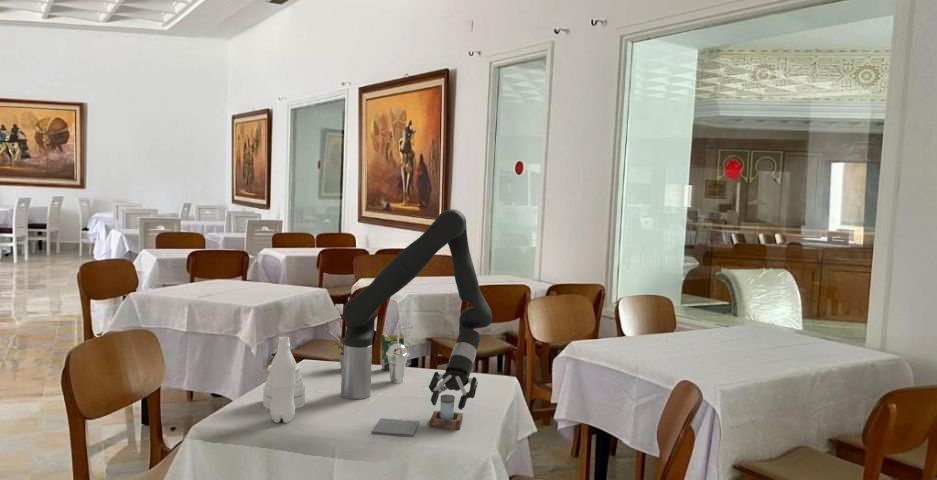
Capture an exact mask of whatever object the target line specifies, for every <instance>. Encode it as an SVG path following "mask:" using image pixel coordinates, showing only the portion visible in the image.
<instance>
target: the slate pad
mask: <svg viewBox="0 0 937 480" xmlns="http://www.w3.org/2000/svg"><path fill="white" fill-rule="evenodd" d="M420 424H421V421H419V420H408V419H396V418H395V419H394V418H384V417H383V418H382V417H380V418H379V420H378V421H377V423H376V425H375V426H374V427H373V429H372V430H371V434H373V435H387V436H388V435H389V436H401V437H402V436H403V437H414V435H415V433H416V431H417V429H418V427H419V426H420Z"/></svg>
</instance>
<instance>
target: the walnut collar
mask: <svg viewBox="0 0 937 480" xmlns="http://www.w3.org/2000/svg"><path fill="white" fill-rule="evenodd" d="M463 416H464V415H463V412H458V411H454V417H453V420H448V419H440V410H437V411H436V410H434V411H433V413H432V414H431V417H430V423H429V424H430V425H429V427H430V428H434V429H439V430H440V429H441V430H442V429H444V430H454V431H455V430H461V427H462V424H463Z"/></svg>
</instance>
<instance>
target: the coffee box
mask: <svg viewBox="0 0 937 480" xmlns="http://www.w3.org/2000/svg"><path fill="white" fill-rule="evenodd" d="M381 339H382V341H381V342H382V343H381V370H383V371H390V370H389V361H388V356H387V355H386V352H387V351H388V350H389V348H390V346H391V345H393V344H395V343H397V334H391V335H390V334H389V335H387V334H386V335H382V338H381ZM399 343H401V344H403V345H404V346H405V336H404V334H402V333H401V334H400V333H399Z"/></svg>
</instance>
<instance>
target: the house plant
mask: <svg viewBox="0 0 937 480" xmlns="http://www.w3.org/2000/svg"><path fill="white" fill-rule="evenodd" d="M330 330H331V331H332V329H330ZM346 330H347V326H345V331H344V335H345V334H346ZM333 331H334V333H336V334H333V333H332V335H333V336H334V335H335V336H336V338H338V339H339V340H340V341H333V342H334V344H332V345H331V346H335V345H336V346H338V347H337V348H336V350H339V349H340V351H339V353H338V355H339V364H340V371H342V368H343V365H344V338H343V337H342V336H341V334H340V333H339V332H338V331H337V330H334V329H333Z"/></svg>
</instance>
